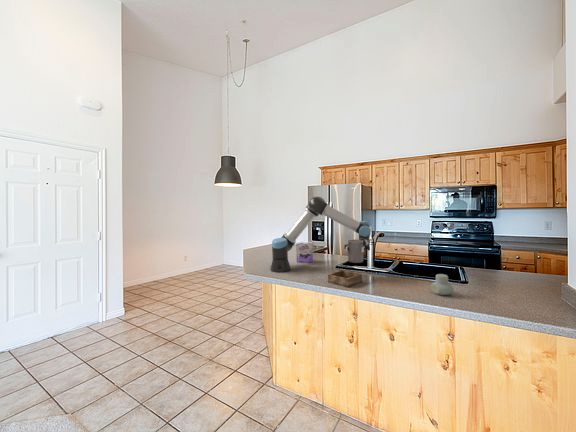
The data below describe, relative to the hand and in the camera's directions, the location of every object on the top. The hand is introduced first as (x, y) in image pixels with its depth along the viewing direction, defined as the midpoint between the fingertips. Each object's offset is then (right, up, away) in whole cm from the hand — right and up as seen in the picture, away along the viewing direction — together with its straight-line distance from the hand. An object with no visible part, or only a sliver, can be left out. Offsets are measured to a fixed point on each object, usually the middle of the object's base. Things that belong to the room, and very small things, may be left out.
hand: (354, 249), depth 175 cm
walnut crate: (-7, -20, -4) cm, 22 cm away
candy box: (-28, -17, +56) cm, 65 cm away
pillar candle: (+2, -8, +4) cm, 10 cm away
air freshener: (+40, -20, -29) cm, 54 cm away
